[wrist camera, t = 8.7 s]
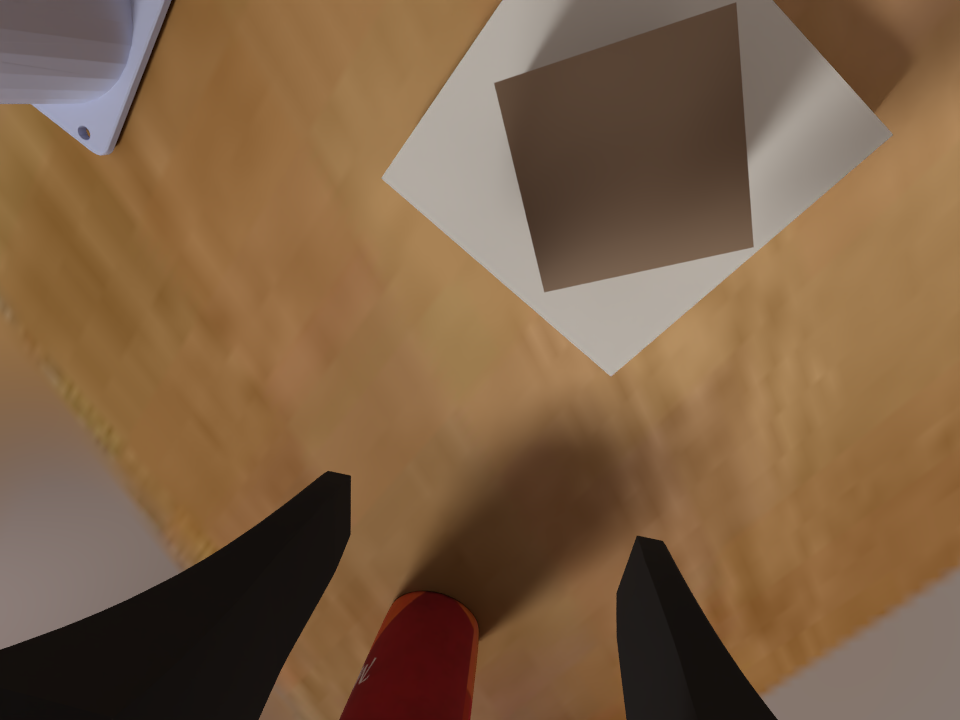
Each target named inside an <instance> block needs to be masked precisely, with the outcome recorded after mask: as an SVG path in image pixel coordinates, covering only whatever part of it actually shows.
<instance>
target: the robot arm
mask: <svg viewBox="0 0 960 720" xmlns="http://www.w3.org/2000/svg"><path fill="white" fill-rule="evenodd" d="M170 3H171V0H0V104H32V105H33V106H34V107H36V108H37V109H38V110H39V111H41V112H42V113H43V114H44V115H46V116H47V117H48V118H50V119H51V120H52V121H53V122H55V123H56V124H57V125H59V126H60V127H61V128H62V129H64V130H65V131H66V132H68V133H69V134H70V135H71V136H73V137H74V138H75V139H76V140H78V141H79V142H80V143H82V144H83V145H84V146H85V147H87V148H88V149H89V150H91V151H92V152H93V153H95V154H97V155H108V154H110V153H112V151H113V150H114V147H115V145H116V142H117V140H118V137H119V134H120V132H121V129H122V127H123V124H124V122H125V119H126V116H127V114H128V111H129V109H130V106H131V103H132V101H133V98H134V96H135V93H136V91H137V88H138V85H139V83H140V80H141V78H142V75H143V72H144V70H145V67H146V65H147V62H148V60H149V57H150V54H151V52H152V49H153V47H154V44H155V41H156V39H157V36H158V34H159V31H160V29H161V26H162V23H163V21H164V18H165V16H166V13H167V10H168V8H169V5H170ZM86 128H87V129H88V130H89V132H90V137H89V136H88V134H87V132H86ZM350 527H351V476H350V475H345V474H340V473H336V472H331V471H327V472H326V473H324V474H323V475H321V476H320V477H319V478H317V479H316V480H315V481H314V482H312V483H311V484H310V485H309V486H307V487H306V488H305V489H304V490H302V491H301V492H300V493H299V494H297V495H296V496H295V497H293V498H292V499H291V500H290V501H288V502H287V503H286V504H284V505H283V506H282V507H280V508H279V509H278V510H276V511H275V512H274V513H272V514H271V515H270V516H268V517H267V518H265V519H264V520H263V521H261V522H260V523H259V524H257V525H256V526H254V527H253V528H252V529H250V530H249V531H247V532H246V533H244V534H243V535H241V536H240V537H238V538H237V539H235V540H234V541H232V542H231V543H229V544H228V545H226V546H225V547H223V548H222V549H220V550H219V551H217V552H215V553H214V554H212V555H211V556H209V557H207V558H206V559H204V560H202V561H201V562H199V563H197V564H195V565H194V566H192V567H190V568H188V569H187V570H185V571H183V572H181V573H180V574H178V575H176V576H174V577H172V578H170V579H168V580H166V581H164V582H162V583H160V584H158V585H156V586H154V587H152V588H150V589H148V590H146V591H144V592H142V593H140V594H138V595H136V596H134V597H132V598H130V599H128V600H126V601H124V602H122V603H119V604H117V605H115V606H113V607H110V608H108V609H106V610H104V611H102V612H99V613H97V614H94V615H92V616H89V617H87V618H84V619H82V620H80V621H77V622H75V623H72V624H70V625H67V626H65V627H62V628H60V629H57V630H54V631H51V632H49V633H46V634H43V635H40V636H38V637H35V638H32V639H29V640H27V641H24V642H22V643H18V644H16V645H13V646H10V647H7V648H4V649H1V650H0V720H259V717H260V715H261V713H262V711H263V708H264V706H265V704H266V702H267V699H268V697H269V695H270V693H271V691H272V688H273V686H274V684H275V682H276V679H277V677H278V675H279V673H280V671H281V669H282V667H283V665H284V663H285V661H286V659H287V657H288V655H289V654H290V652H291V650H292V648H293V646H294V645H295V643H296V641H297V639H298V638H299V636H300V634H301V632H302V630H303V629H304V627H305V625H306V623H307V622H308V620H309V618H310V616H311V614H312V613H313V611H314V609H315V607H316V606H317V604H318V602H319V600H320V598H321V597H322V595H323V593H324V591H325V589H326V588H327V586H328V584H329V582H330V580H331V578H332V577H333V575H334V573H335V571H336V569H337V566H338V564H339V561H340V559H341V557H342V554H343V552H344V549H345V547H346V545H347V542H348V540H349V537H350ZM616 619H617V643H618V652H619V661H620V669H621V678H622V686H623V694H624V702H625V710H626V719H627V720H778V719H777V718H776V717H775V716H774V714H773V713H772V712H771V711H770V709H769V708H768V707H767V705H766V704H765V703H764V701H763V700H762V699H761V698H760V696H759V695H758V694H757V692H756V691H755V690H754V688H753V687H752V685H751V684H750V683H749V681H748V680H747V679H746V677H745V676H744V674H743V673H742V671H741V670H740V669H739V667H738V666H737V664H736V663H735V661H734V660H733V658H732V657H731V655H730V654H729V652H728V651H727V649H726V648H725V646H724V645H723V643H722V642H721V640H720V639H719V637H718V635H717V634H716V632H715V631H714V629H713V627H712V626H711V624H710V623H709V621H708V619H707V618H706V616H705V614H704V613H703V611H702V609H701V608H700V606H699V604H698V603H697V601H696V599H695V598H694V596H693V594H692V592H691V591H690V589H689V587H688V585H687V584H686V582H685V580H684V578H683V576H682V575H681V573H680V571H679V569H678V567H677V565H676V564H675V562H674V560H673V558H672V556H671V554H670V552H669V551H668V549H667V547H666V545H665V544H664V542H663V541H660V540H656V539H651V538H646V537H641V536H637V537H636V540H635V543H634V545H633V548H632V551H631V554H630V557H629V560H628V562H627V565H626V568H625V571H624V574H623V576H622V579H621V582H620V585H619V588H618V591H617V608H616Z"/></svg>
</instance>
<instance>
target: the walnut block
mask: <svg viewBox="0 0 960 720" xmlns="http://www.w3.org/2000/svg"><path fill="white" fill-rule="evenodd" d="M494 85H495V90H496V94H497V98H498V102H499V106H500V110H501V114H502V119H503V123H504V127H505V131H506V135H507V139H508V144H509V148H510V152H511V156H512V160H513V164H514V168H515V173H516V177H517V181H518V185H519V189H520V193H521V198H522V202H523V206H524V210H525V214H526V218H527V223H528V227H529V231H530V235H531V239H532V243H533V247H534V252H535V256H536V260H537V264H538V268H539V272H540V277H541V281H542V285H543V289H544V292H549V291H553V290H558V289H563V288H567V287H572V286H577V285H581V284H586V283H590V282H595V281H600V280H604V279H609V278H614V277H618V276H623V275H628V274H632V273H637V272H641V271H646V270H651V269H655V268H660V267H665V266H669V265H674V264H678V263H683V262H688V261H692V260H697V259H702V258H706V257H711V256H715V255H720V254H725V253H729V252H734V251H739V250H743V249H748V248H752V247H754V245H753V230H752V216H751V202H750V188H749V174H748V160H747V145H746V131H745V117H744V103H743V89H742V75H741V60H740V46H739V32H738V18H737V4H736V2H735V3H732V4H729V5H726V6H723V7H720V8H717V9H714V10H711V11H708V12H705V13H702V14H699V15H696V16H693V17H690V18H687V19H684V20H681V21H678V22H675V23H672V24H669V25H666V26H663V27H660V28H657V29H654V30H651V31H648V32H645V33H642V34H639V35H636V36H633V37H630V38H627V39H624V40H621V41H618V42H615V43H612V44H609V45H606V46H603V47H600V48H597V49H594V50H591V51H588V52H585V53H582V54H579V55H576V56H573V57H570V58H567V59H564V60H561V61H558V62H555V63H552V64H549V65H546V66H543V67H540V68H537V69H534V70H531V71H528V72H526V73H523V74H520V75H517V76H514V77H511V78H508V79H505V80H502V81H499V82H496V83H494Z"/></svg>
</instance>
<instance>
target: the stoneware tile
mask: <svg viewBox="0 0 960 720" xmlns="http://www.w3.org/2000/svg"><path fill="white" fill-rule="evenodd" d="M735 2H736V4H737V18H738V32H739V46H740V60H741V75H742V89H743V103H744V117H745V131H746V145H747V160H748V174H749V188H750V202H751V216H752V230H753V245H754V247H752V248H748V249H743V250H739V251H734V252H729V253H725V254H720V255H715V256H711V257H706V258H702V259H697V260H692V261H688V262H683V263H678V264H674V265H669V266H665V267H660V268H655V269H651V270H646V271H641V272H637V273H632V274H628V275H623V276H618V277H614V278H609V279H604V280H600V281H595V282H590V283H586V284H581V285H577V286H572V287H567V288H563V289H558V290H553V291H549V292H544V289H543V285H542V281H541V277H540V272H539V268H538V264H537V260H536V256H535V252H534V247H533V243H532V239H531V235H530V231H529V227H528V223H527V218H526V214H525V210H524V206H523V202H522V198H521V193H520V189H519V185H518V181H517V177H516V173H515V168H514V164H513V160H512V156H511V152H510V148H509V144H508V139H507V135H506V131H505V127H504V123H503V119H502V114H501V110H500V106H499V102H498V98H497V94H496V90H495V85H494V83H496V82H499V81H502V80H505V79H508V78H511V77H514V76H517V75H520V74H523V73H526V72H528V71H531V70H534V69H537V68H540V67H543V66H546V65H549V64H552V63H555V62H558V61H561V60H564V59H567V58H570V57H573V56H576V55H579V54H582V53H585V52H588V51H591V50H594V49H597V48H600V47H603V46H606V45H609V44H612V43H615V42H618V41H621V40H624V39H627V38H630V37H633V36H636V35H639V34H642V33H645V32H648V31H651V30H654V29H657V28H660V27H663V26H666V25H669V24H672V23H675V22H678V21H681V20H684V19H687V18H690V17H693V16H696V15H699V14H702V13H705V12H708V11H711V10H714V9H717V8H720V7H723V6H726V5H729V4H732V3H735ZM892 135H893V134H892V133H891V132H890V131H889V129H888V128H887V127H886V126H885V125H884V124H883V123H882V122H881V121H880V119H879V118H878V117H877V116H876V115H875V114H874V113H873V112H872V110H871V109H870V108H869V107H868V106H867V105H866V104H865V103H864V102H863V100H862V99H861V98H860V97H859V96H858V95H857V94H856V93H855V92H854V90H853V89H852V88H851V87H850V86H849V85H848V84H847V83H846V81H845V80H844V79H843V78H842V77H841V76H840V75H839V74H838V73H837V71H836V70H835V69H834V68H833V67H832V66H831V65H830V64H829V63H828V61H827V60H826V59H825V58H824V57H823V56H822V55H821V54H820V52H819V51H818V50H817V49H816V48H815V47H814V46H813V45H812V44H811V42H810V41H809V40H808V39H807V38H806V37H805V36H804V35H803V34H802V32H801V31H800V30H799V29H798V28H797V27H796V26H795V25H794V23H793V22H792V21H791V20H790V19H789V18H788V17H787V16H786V15H785V13H784V12H783V11H782V10H781V9H780V8H779V7H778V6H777V5H776V3H775V2H774V1H773V0H502V2H501V3H500V4H499V6H498V7H497V9H496V10H495V12H494V13H493V15H492V16H491V18H490V19H489V21H488V22H487V24H486V25H485V27H484V28H483V29H482V31H481V32H480V34H479V35H478V37H477V38H476V40H475V41H474V43H473V44H472V46H471V47H470V49H469V50H468V51H467V53H466V54H465V56H464V57H463V59H462V60H461V62H460V63H459V65H458V66H457V68H456V69H455V71H454V72H453V74H452V75H451V76H450V78H449V79H448V81H447V82H446V84H445V85H444V87H443V88H442V90H441V91H440V93H439V94H438V96H437V97H436V98H435V100H434V101H433V103H432V104H431V106H430V107H429V109H428V110H427V112H426V113H425V115H424V116H423V118H422V119H421V121H420V122H419V123H418V125H417V126H416V128H415V129H414V131H413V132H412V134H411V135H410V137H409V138H408V140H407V141H406V143H405V144H404V145H403V147H402V148H401V150H400V151H399V153H398V154H397V156H396V157H395V159H394V160H393V162H392V163H391V165H390V166H389V168H388V169H387V170H386V172H385V173H384V175H383V176H382V179H383V180H384V181H385V182H386V183H387V184H389V185H390V186H391V187H392V188H393V189H394V190H395V191H397V192H398V193H399V194H400V195H401V196H402V197H404V198H405V199H406V200H407V201H408V202H409V203H411V204H412V205H413V206H414V207H415V208H416V209H417V210H419V211H420V212H421V213H422V214H423V215H424V216H426V217H427V218H428V219H429V220H430V221H431V222H433V223H434V224H435V225H436V226H437V227H438V228H439V229H441V230H442V231H443V232H444V233H445V234H446V235H448V236H449V237H450V238H451V239H452V240H453V241H455V242H456V243H457V244H458V245H459V246H460V247H461V248H463V249H464V250H465V251H466V252H467V253H468V254H470V255H471V256H472V257H473V258H474V259H475V260H477V261H478V262H479V263H480V264H481V265H482V266H483V267H485V268H486V269H487V270H488V271H489V272H490V273H492V274H493V275H494V276H495V277H496V278H497V279H499V280H500V281H501V282H502V283H503V284H504V285H506V286H507V287H508V288H509V289H510V290H511V291H512V292H514V293H515V294H516V295H517V296H518V297H519V298H521V299H522V300H523V301H524V302H525V303H526V304H528V305H529V306H530V307H531V308H532V309H533V310H534V311H536V312H537V313H538V314H539V315H540V316H541V317H543V318H544V319H545V320H546V321H547V322H548V323H550V324H551V325H552V326H553V327H554V328H555V329H556V330H558V331H559V332H560V333H561V334H562V335H563V336H565V337H566V338H567V339H568V340H569V341H570V342H572V343H573V344H574V345H575V346H576V347H577V348H578V349H580V350H581V351H582V352H583V353H584V354H585V355H587V356H588V357H589V358H590V359H591V360H592V361H594V362H595V363H596V364H597V365H598V366H599V367H600V368H602V369H603V370H604V371H605V372H606V373H607V374H609V375H610V376H612V375H613V374H614V373H616V372H617V371H618V370H619V369H620V368H621V367H623V366H624V365H625V364H626V363H627V362H628V361H630V360H631V359H632V358H633V357H634V356H635V355H637V354H638V353H639V352H640V351H641V350H642V349H644V348H645V347H646V346H647V345H648V344H649V343H651V342H652V341H653V340H654V339H655V338H656V337H658V336H659V335H660V334H661V333H662V332H663V331H665V330H666V329H667V328H668V327H669V326H670V325H672V324H673V323H674V322H675V321H676V320H677V319H679V318H680V317H681V316H682V315H683V314H684V313H686V312H687V311H688V310H689V309H690V308H691V307H693V306H694V305H695V304H696V303H697V302H699V301H700V300H701V299H702V298H703V297H704V296H706V295H707V294H708V293H709V292H710V291H711V290H713V289H714V288H715V287H716V286H717V285H718V284H720V283H721V282H722V281H723V280H724V279H725V278H727V277H728V276H729V275H730V274H731V273H732V272H734V271H735V270H736V269H737V268H738V267H739V266H741V265H742V264H743V263H744V262H745V261H746V260H748V259H749V258H750V257H751V256H752V255H753V254H755V253H756V252H757V251H758V250H759V249H760V248H762V247H763V246H764V245H765V244H766V243H767V242H769V241H770V240H771V239H772V238H773V237H774V236H776V235H777V234H778V233H779V232H780V231H781V230H783V229H784V228H785V227H786V226H787V225H788V224H790V223H791V222H792V221H793V220H794V219H795V218H797V217H798V216H799V215H800V214H801V213H802V212H804V211H805V210H806V209H807V208H808V207H809V206H811V205H812V204H813V203H814V202H815V201H816V200H818V199H819V198H820V197H821V196H822V195H823V194H825V193H826V192H827V191H828V190H829V189H830V188H832V187H833V186H834V185H835V184H836V183H837V182H839V181H840V180H841V179H842V178H843V177H844V176H846V175H847V174H848V173H849V172H850V171H851V170H853V169H854V168H855V167H856V166H857V165H858V164H860V163H861V162H862V161H863V160H864V159H865V158H867V157H868V156H869V155H870V154H871V153H872V152H874V151H875V150H876V149H877V148H878V147H879V146H881V145H882V144H883V143H884V142H885V141H886V140H888V139H889V138H890V137H891V136H892Z"/></svg>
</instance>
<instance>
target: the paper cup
mask: <svg viewBox="0 0 960 720" xmlns="http://www.w3.org/2000/svg"><path fill="white" fill-rule="evenodd" d="M478 641H479V627H478V623H477V621H476V619H475V617H474V615H473V614H472V613H471V611H470V610H469V609H468V608H467V607H465V606H464V605H463V604H462V603H460V602H459V601H457V600H455V599H453V598H451V597H449V596H446V595H443V594H440V593H436V592H429V591H416V592H411V593H407V594H405V595H402V596H401V597H399V598H398V599H397V600H395V602H394V603H393V604H392V606H391V607H390V609H389V611H388V613H387V615H386V617H385V619H384V621H383V623H382V626H381V628H380V630H379V632H378V634H377V636H376V639H375V641H374V643H373V645H372V647H371V650H370V652H369V654H368V656H367V659H366V661H365V663H364V665H363V667H362V670H361V672H360V674H359V676H358V679H357V681H356V683H355V686H354V688H353V690H352V692H351V695H350V697H349V699H348V701H347V704H346V706H345V708H344V710H343V713H342V715H341V717H340V719H339V720H470V716H471V708H472V699H473V690H474V681H475V672H476V663H477V653H478Z"/></svg>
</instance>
